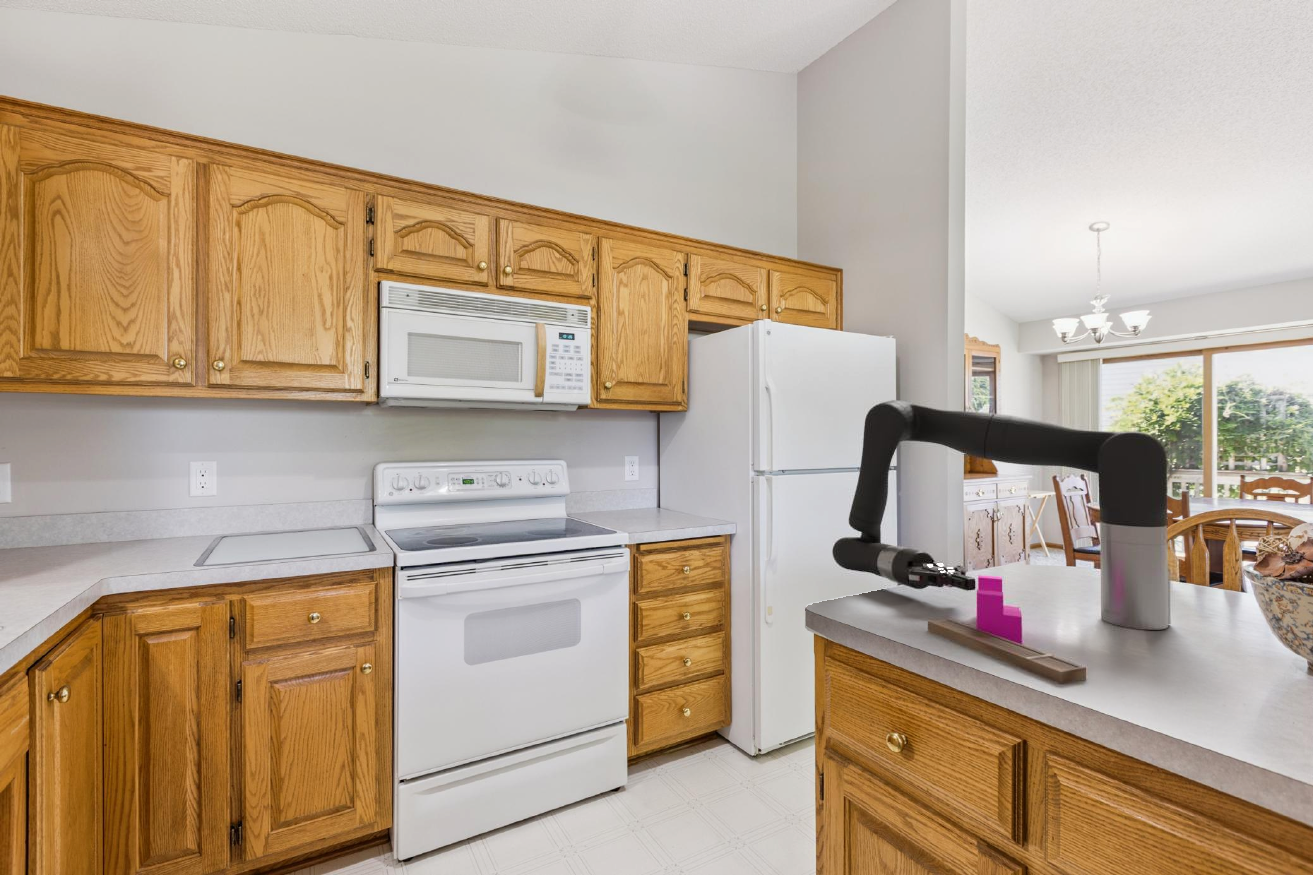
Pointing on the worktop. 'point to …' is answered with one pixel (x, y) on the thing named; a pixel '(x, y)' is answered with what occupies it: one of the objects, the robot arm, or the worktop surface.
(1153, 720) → the worktop surface
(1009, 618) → the toy block
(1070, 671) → the walnut plank
